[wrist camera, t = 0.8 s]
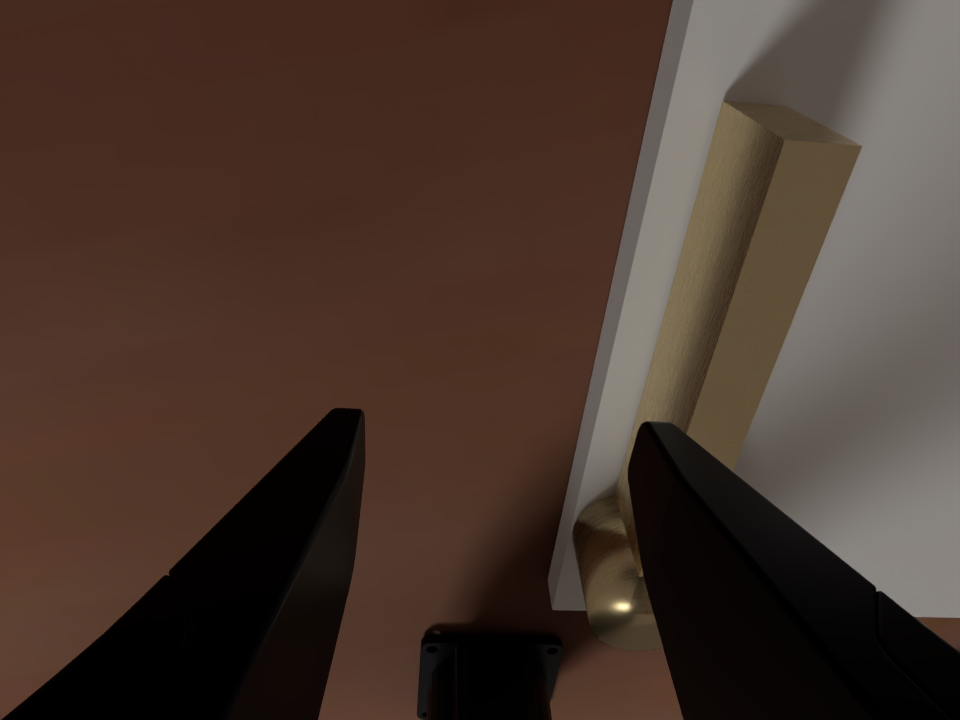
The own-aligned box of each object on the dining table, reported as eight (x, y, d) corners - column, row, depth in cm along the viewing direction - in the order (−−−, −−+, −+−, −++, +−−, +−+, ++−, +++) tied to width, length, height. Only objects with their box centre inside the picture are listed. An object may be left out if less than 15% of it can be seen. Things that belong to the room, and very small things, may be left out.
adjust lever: (666, 568, 25) (694, 652, 22) (564, 566, 25) (579, 649, 22) (833, 109, 16) (919, 150, 13) (674, 96, 16) (725, 135, 13)
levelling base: (941, 588, 29) (987, 649, 27) (547, 579, 28) (557, 643, 25) (1395, -29, 16) (1567, -21, 14) (695, -105, 15) (746, -112, 12)
